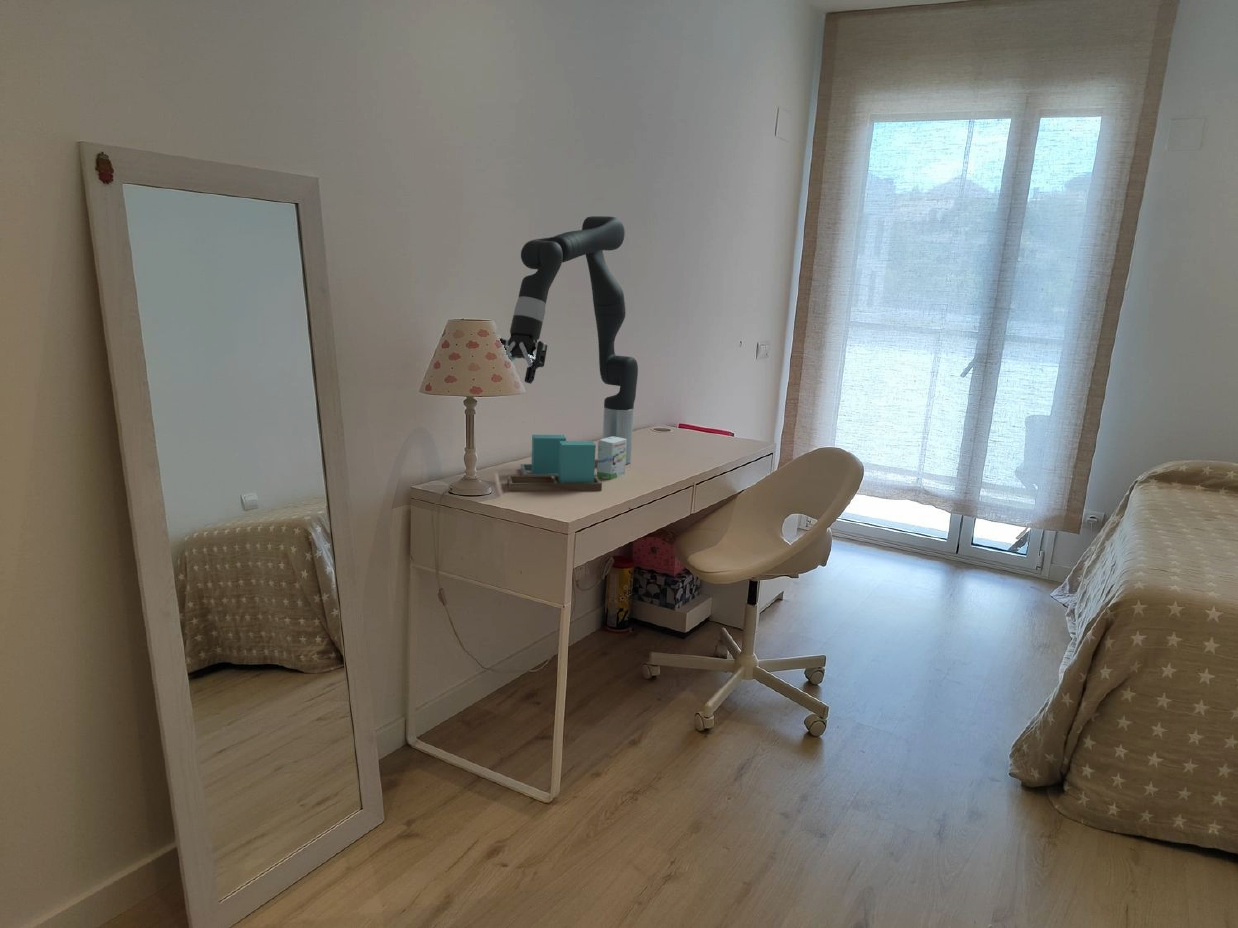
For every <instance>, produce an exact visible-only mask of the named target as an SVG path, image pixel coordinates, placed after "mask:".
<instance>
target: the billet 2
mask: <svg viewBox="0 0 1238 928" xmlns="http://www.w3.org/2000/svg"><path fill="white" fill-rule="evenodd" d="M596 446H597V445H596V444H595V443H594V442H593V440H591V441H588V440H584V441H581V440H580V441H579V440H578V441H577V440H575V441H574V440H571V441H570V440H568V441H567V440H566V441H559V471H558V483H594V476H595V469H596V449H597V448H596Z"/></svg>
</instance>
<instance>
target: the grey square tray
mask: <svg viewBox="0 0 1238 928" xmlns="http://www.w3.org/2000/svg"><path fill="white" fill-rule="evenodd" d="M531 467H532V463H520V469H519V470H520V471H521V474H522V475H521V476H558V474H532V473H528V472H527V471H529V470H530V471H531Z"/></svg>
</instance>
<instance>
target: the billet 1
mask: <svg viewBox="0 0 1238 928" xmlns="http://www.w3.org/2000/svg"><path fill="white" fill-rule="evenodd" d="M559 441H567V438H566V436H565V435H564V434H532V437H531V464H532V467H531V470H530V472H531V473H530V474H558V471H559Z"/></svg>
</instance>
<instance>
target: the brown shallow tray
mask: <svg viewBox="0 0 1238 928" xmlns="http://www.w3.org/2000/svg"><path fill="white" fill-rule="evenodd" d="M506 482H507V486H508V490H509V492H584V491H585V492H600V491H602V490H603V489H602V487H603V483H602V482H601V480H600V478H598V477H597V474H596V475H595V474H594V483H558V476H523V475H507V481H506Z"/></svg>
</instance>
